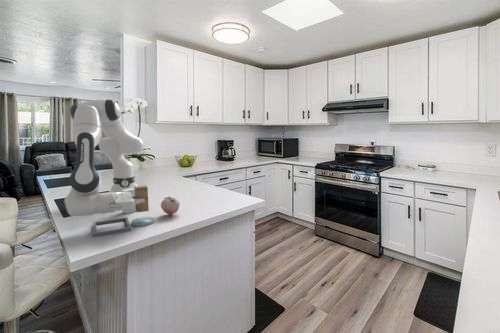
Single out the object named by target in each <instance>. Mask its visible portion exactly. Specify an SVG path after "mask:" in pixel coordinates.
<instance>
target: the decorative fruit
mask: <svg viewBox="0 0 500 333" xmlns="http://www.w3.org/2000/svg"><path fill="white" fill-rule="evenodd" d="M180 204H181V203H180V201H179V200H178V199H177V198H175V197H171V196H167V197H164V199H163V200H162V201H161V203H160V208H161V209H162V211H163V212H164V213H165V214H167V215H169V216H173V215H174V214H176V213H177V212H178V211H179V209H180V207H181V206H180Z"/></svg>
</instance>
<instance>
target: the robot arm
mask: <svg viewBox="0 0 500 333" xmlns="http://www.w3.org/2000/svg"><path fill="white" fill-rule="evenodd" d="M69 112H70V116H71V119H72V136H73V141H74V144H75V145H76V147H75V148H76V151H75V152H76V153H75V166H74V168H73V170H72V171H71V173H70V175H69V179H68V180H69V185H70V186H71V189H70V190H69V193H68V195H67V196H66V197H65V198H64V200H63V205H64V209H65V211H66V214H68V216H70V217H85V216H92V215H95V214H110V213H115V212H116V211H123V210H131V209H134V208H135V204H139V203H143V202H145V199H144V198H140V199H135V195H131V192H121V190H125V189H130V188H133V189H134V187H135V186H139V185H138V184H137V183H136V182H135V181H136V179H135V178H136V177H135V175H134V165H133V163H132V162H131V161H130V160H128V159H126V157H124V155H136V154H137V155H139V154H141V153H142V152H143V150H144V147H145V143H144V141H143V139H142V138H141V137H139V136H136V135H134V134H133V133H131V132H130V131H129V130H128V129H127V128H126V127H125V126H124V123H123V122H122V119H121V118H120V117H121V107H120V105H119V103H118V102H117V101H115V100H113V99H94V100H93V99H92V100H88V101H87V100H86V101H83V102H76V103H73V104H72V105H71V106H70V109H69ZM102 133H103V134H104V136H106V137H102ZM96 146H98V148H99V150H100V152H101V153H102V154H104V155H105V156H106V157H107V158H108V159H109V161H110V163H111V165H112V170H113V172H112V173H113V178H112V181H113V185H112V186H111V188H110V191H106V192H99V190H100V185H101V184H100V175H99V173H98V170H96V167H95V149H96Z"/></svg>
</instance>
